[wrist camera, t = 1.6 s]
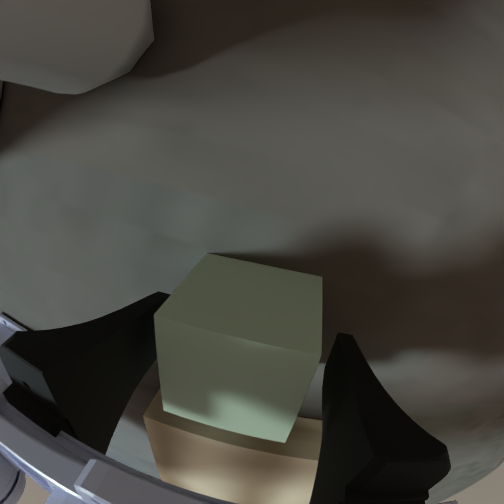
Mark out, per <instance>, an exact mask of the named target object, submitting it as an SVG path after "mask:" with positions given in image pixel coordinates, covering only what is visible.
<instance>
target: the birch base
mask: <svg viewBox="0 0 504 504" xmlns="http://www.w3.org/2000/svg"><path fill="white" fill-rule="evenodd" d="M143 418H144V422H145V426H146V430H147V434H148V437H149V441H150V445H151V448H152V451H153V455H154V458H155V461H156V465H157V468H158V471H159V474H160V477H161V480H162V481H164V482H167V483H170V484H172V485H175V486H178V487H181V488H184V489H187V490H190V491H193V492H196V493H200V494H203V495H206V496H210V497H213V498H217V499H221V500H225V501H229V502H233V503H238V504H309V502H310V499H311V495H312V490H313V486H314V481H315V476H316V471H317V466H318V460H319V454H320V447H321V440H322V420H315V419H308V418H302V417H296V420H295V422H294V424H293V426H292V429H291V431H290V433H289V435H288V438H287V440H286V442H285V443H283V442H277V441H272V440H267V439H262V438H258V437H253V436H249V435H244V434H240V433H236V432H232V431H228V430H224V429H221V428H217V427H213V426H210V425H206V424H203V423H200V422H197V421H193V420H190V419H187V418H184V417H181V416H178V415H175V414H172V413H169V412H166V411H164V410H163V403H162V395H161V387H160V388H159V390H158V391H157V393H156V395H155V396H154V398H153V400H152V401H151V403H150V405H149V406H148V408H147V410H146V411H145V413H144V415H143Z"/></svg>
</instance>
